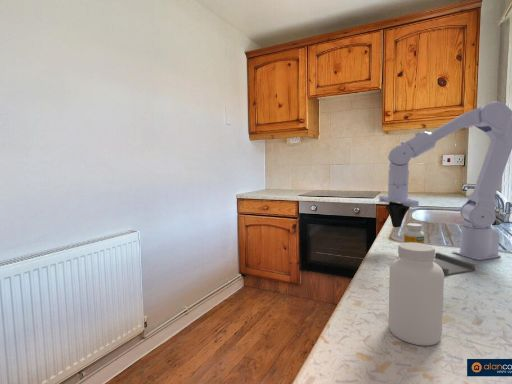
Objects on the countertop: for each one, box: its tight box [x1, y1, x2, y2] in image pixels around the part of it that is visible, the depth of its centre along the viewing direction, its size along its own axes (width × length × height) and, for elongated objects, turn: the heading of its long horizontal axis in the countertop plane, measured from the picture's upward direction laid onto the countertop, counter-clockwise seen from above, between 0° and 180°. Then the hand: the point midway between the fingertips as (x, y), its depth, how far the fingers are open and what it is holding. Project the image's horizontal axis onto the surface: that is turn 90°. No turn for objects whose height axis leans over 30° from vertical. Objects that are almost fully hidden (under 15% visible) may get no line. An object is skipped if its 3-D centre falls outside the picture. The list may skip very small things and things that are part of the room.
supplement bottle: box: [403, 222, 425, 244], centre depth 90 cm, size 5×5×10 cm
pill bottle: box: [387, 242, 445, 347], centre depth 50 cm, size 8×8×15 cm
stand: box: [434, 252, 476, 277], centre depth 81 cm, size 10×11×2 cm
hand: (396, 226), depth 96 cm, fingers closed
